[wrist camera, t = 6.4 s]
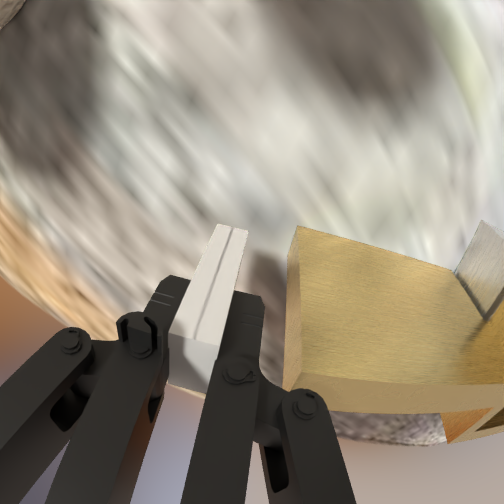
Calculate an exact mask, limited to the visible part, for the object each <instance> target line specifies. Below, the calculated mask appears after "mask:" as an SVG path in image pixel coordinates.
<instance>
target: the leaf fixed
mask: <svg viewBox="0 0 504 504" xmlns="http://www.w3.org/2000/svg"><path fill="white" fill-rule="evenodd" d="M454 275H455V277H456V278H457V279H458V281H459V282H460V284H461V285H462V287H463V288H464V290H465V291H466V293H467V294H468V296H469V297H470V299H471V300H472V302H473V304H474V305H475V307H476V308H477V310H478V312H479V313H480V315H481V317H482V318H483V320H484V321H489V320H490V319H491V317H492V316H493V314H494V313H495V312H496V310H497V309H498V307H499V306H500V304H501V303H502V301H503V300H504V231H502V230H500V229H498V228H496V227H495V226H493V225H491V224H489V223H487V222H485V221H483V220H481V222H480V225H479V227H478V229H477V231H476V233H475V235H474V237H473V239H472V241H471V243H470V245H469V247H468V249H467V251H466V253H465V255H464V257H463V258H462V260H461V262H460V264H459V266H458V268H457V269H456V271H455V273H454Z"/></svg>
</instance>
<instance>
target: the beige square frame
mask: <svg viewBox="0 0 504 504" xmlns="http://www.w3.org/2000/svg"><path fill="white" fill-rule="evenodd" d="M298 388H303V389H310V390H312V391H314V392H316V393H318V394H319V395H320V396H321V397H322V398H323V399H324V401H325V403H326V405H327V408H328V410H331V411H342V412H356V413H377V414H425V413H440V415H441V419H442V422H443V426H444V430H445V435H446V439H447V443H448V444H451V443H456V442H462V441H467V440H472V439H476V438H481V437H485V436H489V435H493V434H496V433H500V432H503V431H504V300H503V301H502V303H501V304H500V306H499V307H498V309H497V310H496V312H495V313H494V314H493V316H492V317H491V319H490V320H489V321H484V320H483V318H482V317H481V315H480V313H479V312H478V310H477V308H476V307H475V305H474V304H473V302H472V300H471V299H470V297H469V296H468V294H467V293H466V291H465V290H464V288H463V287H462V285H461V284H460V282H459V281H458V279H457V278H456V277H455V275H454V274H453V272H452V271H451V270H449V269H446V268H443V267H440V266H436V265H433V264H430V263H427V262H424V261H420V260H417V259H414V258H411V257H407V256H404V255H401V254H397V253H394V252H391V251H387V250H384V249H381V248H377V247H374V246H370V245H367V244H363V243H360V242H356V241H353V240H349V239H346V238H342V237H338V236H335V235H331V234H327V233H324V232H320V231H316V230H313V229H309V228H305V227H301V226H297V229H296V232H295V235H294V238H293V241H292V244H291V247H290V250H289V253H288V260H287V298H286V326H285V349H284V368H283V385H282V389H284V390H286V391H288V392H290V391H291V390H294V389H298Z"/></svg>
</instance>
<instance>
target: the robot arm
mask: <svg viewBox="0 0 504 504" xmlns="http://www.w3.org/2000/svg"><path fill="white" fill-rule="evenodd" d="M247 235H248V231H246V230H242V229H238V228H234V227H230V226H225V225H221V224H217V226H216V228H215V230H214V232H213V234H212V237H211V239H210V241H209V243H208V245H207V247H206V249H205V251H204V254H203V256H202V258H201V260H200V262H199V264H198V266H197V269H196V271H195V273H194V275H193V277H192V280H188V279H184V278H180V277H177V276H173V275H169V276H168V277H166V278H165V279H164V280H162V281H161V282H160V283H159V285H158V287H157V288H156V290H155V293H154V294H153V295H152V297H151V300H150V301H149V303H148V304H147V306H146V308H145V310H144V312H130V313H127V314H125V315H123V316H121V317H120V318H119V319H118V320H117V322H116V325H117V331H118V337H119V340H115V341H102V340H91V338H90V336H89V334H88V333H87V332H86V331H85V330H82V329H80V328H76V327H69V328H65V329H62V330H61V331H59V332H58V333H56V334H55V335H54V336H53V337H52V338H51V339H50V340H49V341H47V342H46V343H45V344H44V345H43V346H42V347H41V348H40V349H39V350H38V351H37V352H35V353H34V354H33V355H32V356H31V357H30V358H29V359H28V360H27V361H26V362H25V363H24V364H23V365H22V366H21V367H20V368H19V369H18V370H17V371H16V372H15V373H14V374H13V375H12V376H11V377H10V378H9V379H8V380H7V381H6V382H5V383H4V384H3V385H2V386H1V387H0V504H19V503H20V501H21V500H22V499H23V497H24V496H25V495H26V494H27V492H28V491H29V490H30V488H31V487H32V486H33V485H34V484H35V482H36V481H37V480H38V478H39V477H40V476H41V475H42V473H43V472H44V471H45V470H46V468H47V467H48V466H49V465H50V463H51V462H52V461H53V460H54V459H55V457H56V456H57V455H58V453H59V452H60V451H61V450H62V449H63V447H64V446H65V445H66V444H67V443H68V441H69V440H70V442H69V444H68V446H67V449H66V451H65V453H64V455H63V458H62V460H61V463H60V465H59V468H58V470H57V473H56V475H55V478H54V480H53V483H52V485H51V488H50V491H49V494H48V496H47V499H46V502H45V504H130V501H131V498H132V494H133V491H134V488H135V485H136V482H137V478H138V475H139V472H140V469H141V466H142V462H143V459H144V456H145V453H146V450H147V447H148V444H149V440H150V437H151V434H152V431H153V428H154V425H155V422H156V419H157V416H158V413H159V411H160V408H161V405H162V402H163V399H164V388H165V385H166V382H167V379H168V383H169V384H172V385H175V386H179V387H182V388H186V389H190V390H193V391H197V392H201V393H205V394H206V398H205V403H204V406H203V410H202V414H201V418H200V423H199V427H198V431H197V435H196V439H195V443H194V448H193V452H192V456H191V460H190V465H189V469H188V473H187V477H186V482H185V487H184V490H183V495H182V499H181V503H180V504H245V497H246V490H247V482H248V475H249V467H250V459H251V451H252V443H253V441H255V442H256V443H259V448H260V454H261V460H262V466H263V471H264V477H265V482H266V488H267V494H268V499H269V504H356V501H355V497H354V494H353V490H352V487H351V483H350V480H349V476H348V473H347V470H346V466H345V463H344V460H343V457H342V453H341V450H340V446H339V443H338V440H337V436H336V433H335V430H334V427H333V424H332V420H331V417H330V414H329V411H328V408H327V405H326V403H325V401H324V399H323V398H322V397H321V396H320V395H319V394H318V393H316V392H314V391H312V390H310V389H303V388H298V389H294V390H291V391H290V392H288V391H286V390H284V389H282V388H280V387H278V386H276V385H274V384H272V383H271V382H269V381H268V380H267V379H266V378H265V377H264V376H263V374H262V373H261V370H260V367H259V354H260V346H261V337H262V327H263V318H264V310H265V306H264V304H263V302H262V299H261V297H260V296H256V295H252V294H248V293H244V292H239V291H235V290H234V289H235V285H236V281H237V277H238V273H239V269H240V265H241V260H242V256H243V252H244V248H245V244H246V239H247Z"/></svg>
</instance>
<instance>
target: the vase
mask: <svg viewBox="0 0 504 504" xmlns="http://www.w3.org/2000/svg"><path fill="white" fill-rule="evenodd" d="M25 1H26V0H0V30H1V29H2V28H3V27H4V26H5V25H6V24H7V23H8V22H9V21H10V20H11V19H12V18H13V17H14V16H15V15H16V14H17V13H18V11H19V10H20V9H21V7H22V6H23V4H24V3H25Z"/></svg>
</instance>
